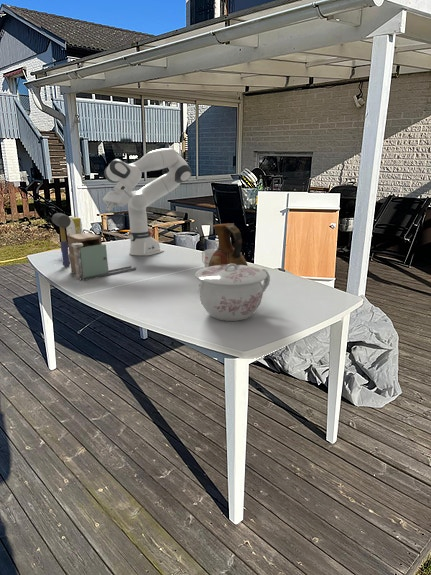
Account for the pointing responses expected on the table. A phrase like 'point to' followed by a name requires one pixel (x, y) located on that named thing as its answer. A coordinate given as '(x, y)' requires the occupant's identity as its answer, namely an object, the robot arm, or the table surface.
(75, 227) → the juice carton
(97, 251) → the cabinet door
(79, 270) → the walnut cabinet
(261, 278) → the chamber pot
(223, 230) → the ceramic pitcher
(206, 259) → the mug
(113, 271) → the door track
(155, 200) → the robot arm
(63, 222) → the rubber mallet
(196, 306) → the table surface
